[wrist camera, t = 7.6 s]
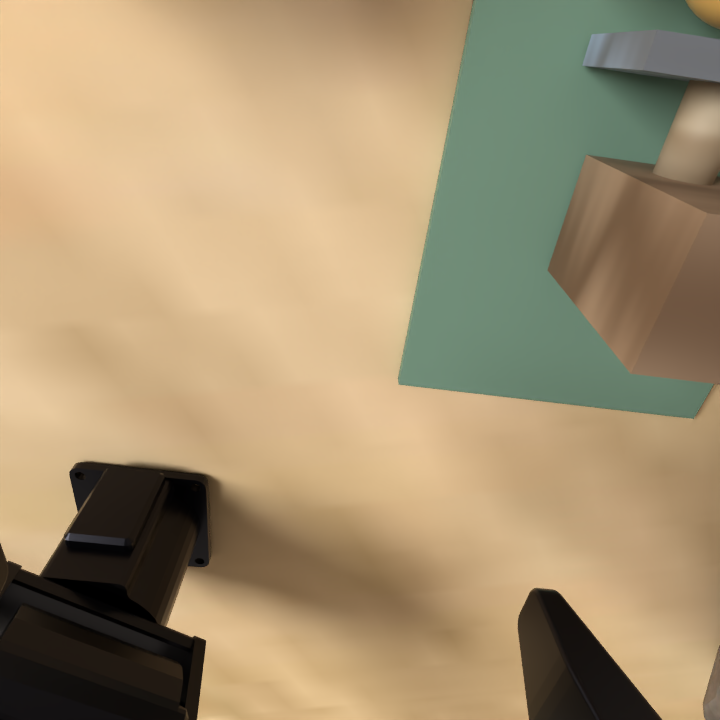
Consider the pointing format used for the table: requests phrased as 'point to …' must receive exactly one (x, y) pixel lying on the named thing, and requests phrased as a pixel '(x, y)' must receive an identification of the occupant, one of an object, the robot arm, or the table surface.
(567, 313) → the pitch
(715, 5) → the ball
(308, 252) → the table surface
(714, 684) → the bowl
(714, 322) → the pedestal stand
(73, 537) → the robot arm
